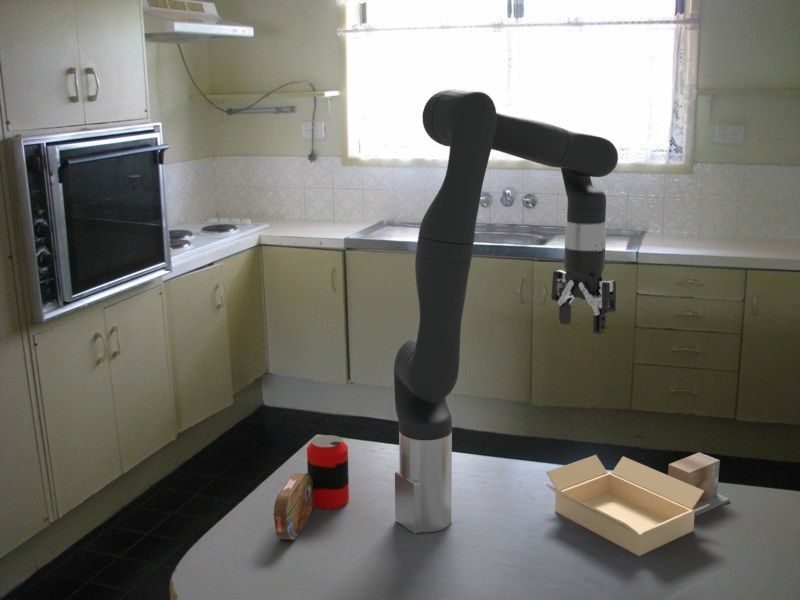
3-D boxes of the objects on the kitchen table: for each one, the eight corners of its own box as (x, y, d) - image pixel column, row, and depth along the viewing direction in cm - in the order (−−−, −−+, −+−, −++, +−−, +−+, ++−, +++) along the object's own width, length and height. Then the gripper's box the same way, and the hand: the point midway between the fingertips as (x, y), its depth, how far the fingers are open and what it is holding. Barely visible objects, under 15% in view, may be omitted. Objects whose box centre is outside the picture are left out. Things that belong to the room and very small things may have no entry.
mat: (695, 516, 156) (696, 513, 156) (655, 498, 163) (655, 495, 163) (729, 501, 161) (729, 498, 161) (688, 484, 168) (688, 481, 168)
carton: (641, 571, 138) (644, 533, 137) (530, 510, 159) (531, 476, 157) (720, 533, 150) (723, 498, 148) (606, 481, 170) (608, 449, 169)
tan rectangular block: (686, 508, 158) (689, 472, 156) (666, 499, 161) (668, 464, 160) (716, 494, 163) (719, 460, 161) (696, 486, 166) (699, 452, 165)
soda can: (333, 513, 158) (331, 452, 155) (300, 503, 162) (298, 444, 159) (356, 497, 164) (355, 438, 162) (324, 488, 168) (322, 430, 165)
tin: (289, 549, 146) (287, 503, 144) (272, 547, 147) (269, 501, 145) (315, 508, 161) (314, 465, 159) (299, 506, 161) (297, 464, 159)
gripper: (543, 242, 166) (541, 323, 170) (600, 253, 155) (596, 340, 159) (571, 238, 171) (568, 318, 174) (628, 248, 159) (623, 333, 163)
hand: (581, 328), depth 167 cm, fingers open, 8 cm apart
